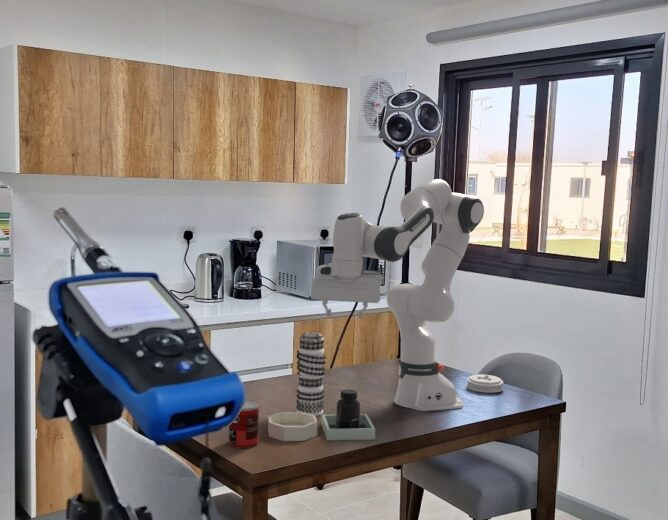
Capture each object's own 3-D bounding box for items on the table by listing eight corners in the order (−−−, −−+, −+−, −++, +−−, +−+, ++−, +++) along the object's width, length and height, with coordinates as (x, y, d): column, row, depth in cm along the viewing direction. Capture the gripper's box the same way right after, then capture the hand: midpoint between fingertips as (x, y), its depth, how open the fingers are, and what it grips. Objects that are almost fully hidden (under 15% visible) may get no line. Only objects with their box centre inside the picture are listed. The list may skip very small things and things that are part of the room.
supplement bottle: (357, 436, 208) (358, 395, 207) (333, 434, 210) (334, 393, 208) (361, 429, 215) (362, 389, 214) (338, 426, 216) (339, 387, 215)
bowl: (313, 424, 218) (313, 411, 217) (318, 440, 204) (319, 426, 204) (267, 425, 216) (267, 412, 216) (269, 441, 202) (269, 427, 202)
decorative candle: (289, 410, 231) (291, 332, 228) (313, 405, 236) (315, 329, 234) (306, 418, 223) (308, 337, 221) (330, 413, 229) (332, 334, 226)
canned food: (229, 438, 204) (230, 400, 203) (258, 438, 204) (259, 400, 203) (227, 448, 196) (228, 408, 195) (257, 448, 197) (258, 408, 196)
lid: (497, 385, 268) (498, 372, 267) (506, 395, 255) (507, 381, 255) (463, 385, 268) (463, 371, 267) (470, 394, 255) (471, 380, 254)
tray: (366, 423, 220) (366, 413, 220) (375, 439, 207) (375, 429, 206) (321, 424, 218) (321, 414, 218) (327, 440, 205) (327, 429, 204)
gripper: (382, 270, 215) (380, 316, 216) (313, 266, 216) (311, 312, 217) (382, 272, 209) (380, 320, 210) (311, 268, 210) (309, 316, 211)
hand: (344, 316), depth 214 cm, fingers open, 8 cm apart
